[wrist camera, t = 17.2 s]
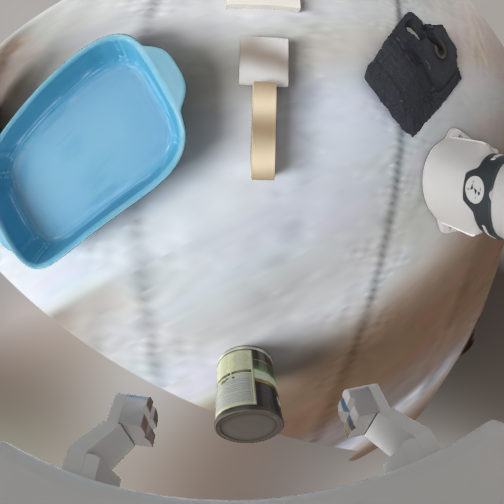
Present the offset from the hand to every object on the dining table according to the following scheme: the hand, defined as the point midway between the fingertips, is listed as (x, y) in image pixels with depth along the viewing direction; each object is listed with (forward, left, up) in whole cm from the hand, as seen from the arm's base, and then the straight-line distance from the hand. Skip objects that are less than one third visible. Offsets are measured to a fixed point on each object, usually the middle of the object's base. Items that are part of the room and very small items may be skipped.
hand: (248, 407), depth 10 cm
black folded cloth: (-28, -26, -30) cm, 48 cm away
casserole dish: (+23, -11, -30) cm, 39 cm away
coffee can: (-1, +27, -29) cm, 40 cm away
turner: (-3, -16, -29) cm, 33 cm away
